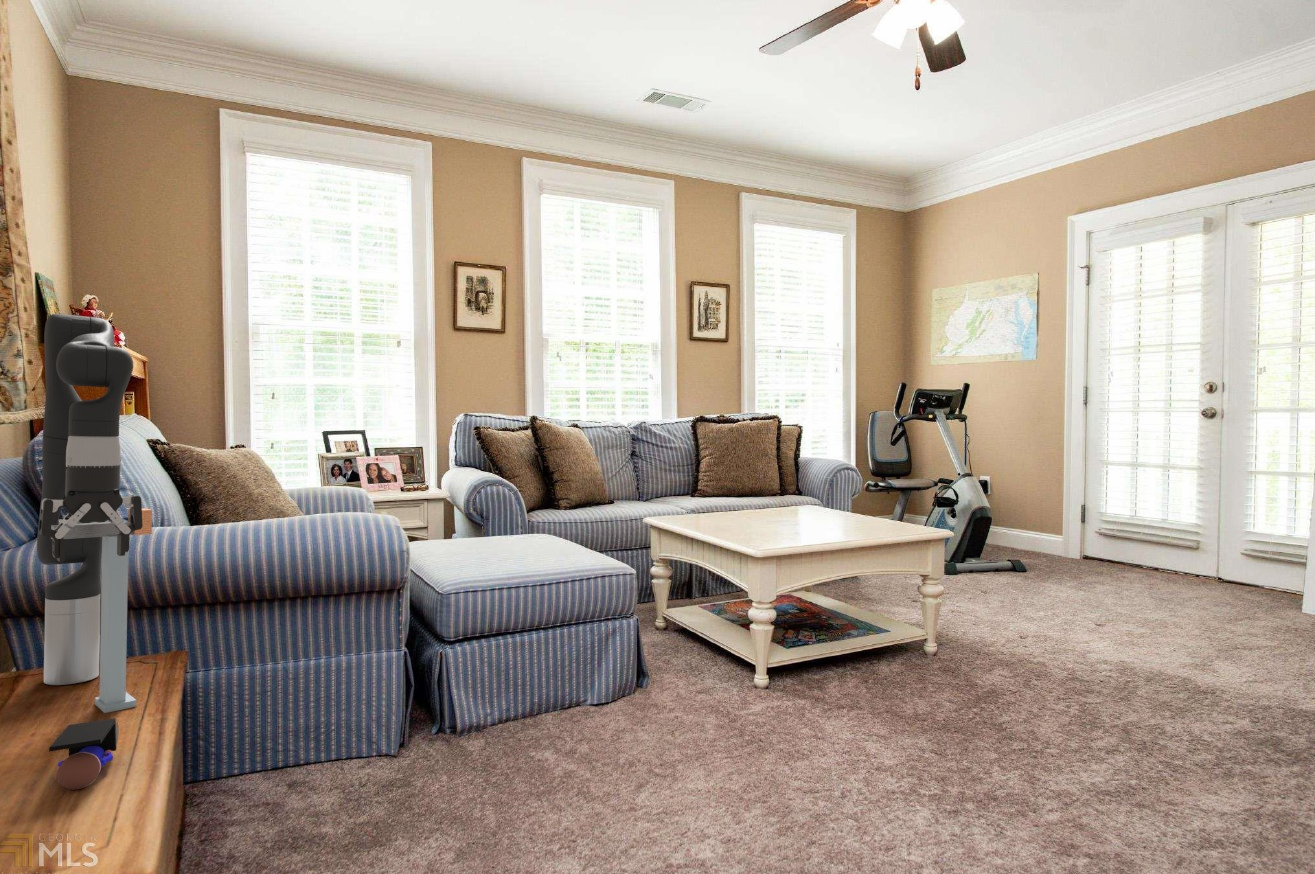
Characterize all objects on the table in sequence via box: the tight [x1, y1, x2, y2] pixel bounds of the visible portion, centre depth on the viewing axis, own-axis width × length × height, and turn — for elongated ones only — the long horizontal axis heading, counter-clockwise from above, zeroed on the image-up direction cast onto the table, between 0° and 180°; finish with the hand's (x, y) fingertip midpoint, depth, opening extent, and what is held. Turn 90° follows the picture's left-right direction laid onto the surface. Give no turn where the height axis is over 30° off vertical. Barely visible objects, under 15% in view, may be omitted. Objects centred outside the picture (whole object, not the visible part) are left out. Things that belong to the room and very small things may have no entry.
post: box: [94, 536, 137, 714], centre depth 148 cm, size 7×5×32 cm
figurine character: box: [48, 717, 120, 791], centre depth 118 cm, size 7×8×15 cm
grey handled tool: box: [51, 507, 153, 539], centre depth 146 cm, size 5×15×5 cm, turn 137°
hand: (91, 558), depth 134 cm, fingers open, 8 cm apart
